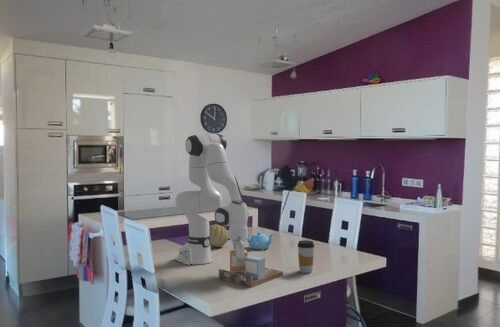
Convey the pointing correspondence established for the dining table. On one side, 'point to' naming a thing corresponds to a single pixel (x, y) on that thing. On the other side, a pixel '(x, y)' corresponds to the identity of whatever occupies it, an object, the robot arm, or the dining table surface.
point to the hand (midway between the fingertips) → (238, 263)
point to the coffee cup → (305, 256)
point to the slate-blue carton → (255, 267)
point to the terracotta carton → (233, 262)
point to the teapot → (259, 241)
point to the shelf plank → (248, 277)
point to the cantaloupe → (217, 235)
